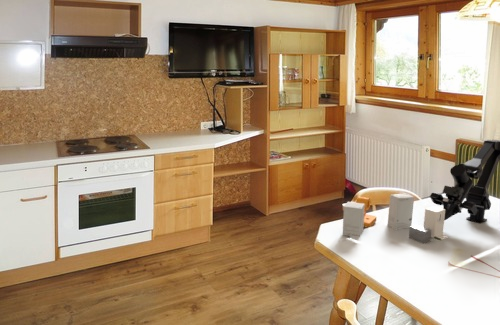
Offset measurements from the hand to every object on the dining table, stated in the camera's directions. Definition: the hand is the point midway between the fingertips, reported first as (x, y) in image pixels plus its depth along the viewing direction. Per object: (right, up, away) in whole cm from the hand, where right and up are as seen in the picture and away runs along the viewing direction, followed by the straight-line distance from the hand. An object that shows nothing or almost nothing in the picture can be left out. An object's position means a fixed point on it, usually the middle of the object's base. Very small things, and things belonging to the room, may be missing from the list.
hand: (443, 219), depth 183 cm
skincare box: (-16, -5, +7) cm, 18 cm away
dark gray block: (-13, -7, -7) cm, 16 cm away
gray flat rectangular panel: (-7, -7, -3) cm, 10 cm away
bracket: (-29, -4, +13) cm, 32 cm away
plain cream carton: (-6, -6, -5) cm, 10 cm away
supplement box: (-37, -6, +1) cm, 37 cm away
